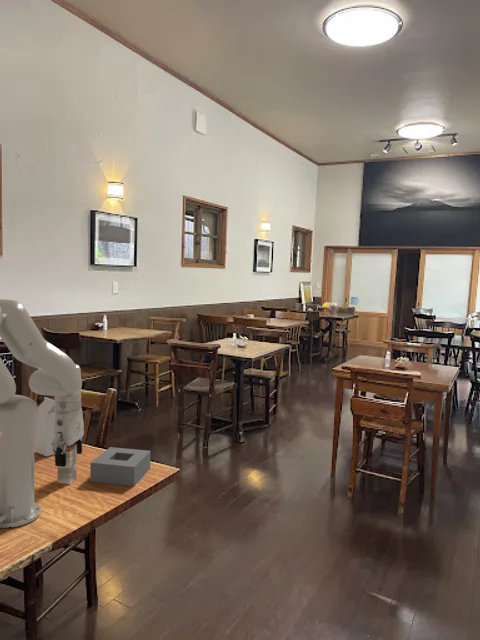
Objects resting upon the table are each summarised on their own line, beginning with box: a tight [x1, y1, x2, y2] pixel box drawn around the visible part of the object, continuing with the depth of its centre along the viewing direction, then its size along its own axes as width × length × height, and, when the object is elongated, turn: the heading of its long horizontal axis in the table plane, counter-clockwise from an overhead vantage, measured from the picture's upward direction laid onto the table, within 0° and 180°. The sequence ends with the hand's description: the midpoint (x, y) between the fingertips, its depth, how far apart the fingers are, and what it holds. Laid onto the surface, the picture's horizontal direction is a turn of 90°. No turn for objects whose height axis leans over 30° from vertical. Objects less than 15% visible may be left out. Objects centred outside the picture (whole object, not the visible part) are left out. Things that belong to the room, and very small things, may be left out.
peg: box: [57, 444, 78, 485], centre depth 146 cm, size 4×4×11 cm
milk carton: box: [34, 396, 64, 457], centre depth 169 cm, size 7×7×19 cm
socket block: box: [89, 446, 151, 487], centre depth 152 cm, size 14×14×6 cm
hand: (69, 459), depth 147 cm, fingers open, 9 cm apart
